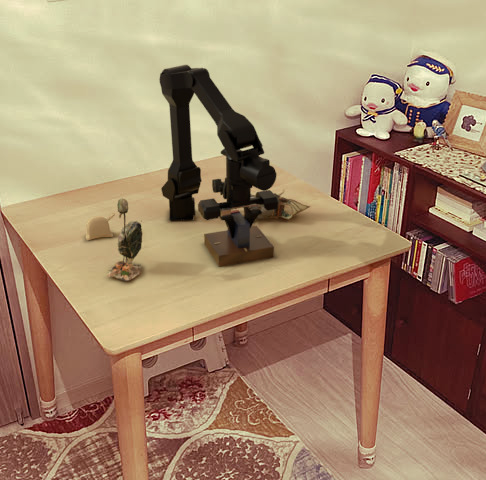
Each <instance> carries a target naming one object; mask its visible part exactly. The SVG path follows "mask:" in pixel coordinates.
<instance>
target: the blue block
mask: <svg viewBox="0 0 486 480" xmlns="http://www.w3.org/2000/svg"><path fill="white" fill-rule="evenodd" d="M231 214H232V216H233V217H234V238H231V236H230V234H229V231H228V235H229V236H230V238H231V239H232V240H233V242H234V243H235V245H236V246H237V247H238V248H242V247H248V246H250V223H249V222H248V221H247V220H246V219H245V217H244V214H242V212H241V211H240V210H239V209H233V210H231Z"/></svg>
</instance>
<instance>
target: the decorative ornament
mask: <svg viewBox="0 0 486 480" xmlns="http://www.w3.org/2000/svg"><path fill="white" fill-rule="evenodd" d="M115 216H116V213H112V214H110V215H109V216H108V217H107V218H106V217H104V216H102V215H97V216H92V217H91V218H89V219H88V221H87V223H86V228H85V230H86V231H85V232H86V234H85V239H86V241H91V240H94V239H98V238H105V237H106V238H107V237H108V238H113V237H114V234H113V233H112V231H111V228H110V223H109V221H111V219H113V218H114V217H115Z"/></svg>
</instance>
